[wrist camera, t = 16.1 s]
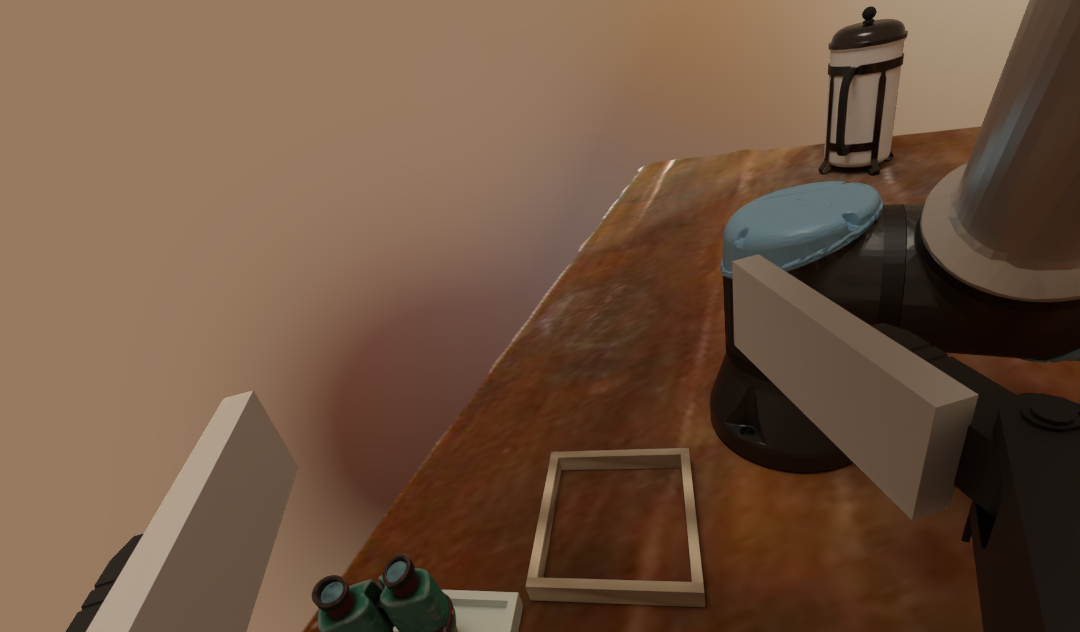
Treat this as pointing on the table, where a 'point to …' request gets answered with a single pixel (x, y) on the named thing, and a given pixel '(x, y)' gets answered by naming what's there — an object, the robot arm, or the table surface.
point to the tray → (485, 611)
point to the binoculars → (385, 602)
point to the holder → (615, 589)
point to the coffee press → (863, 93)
